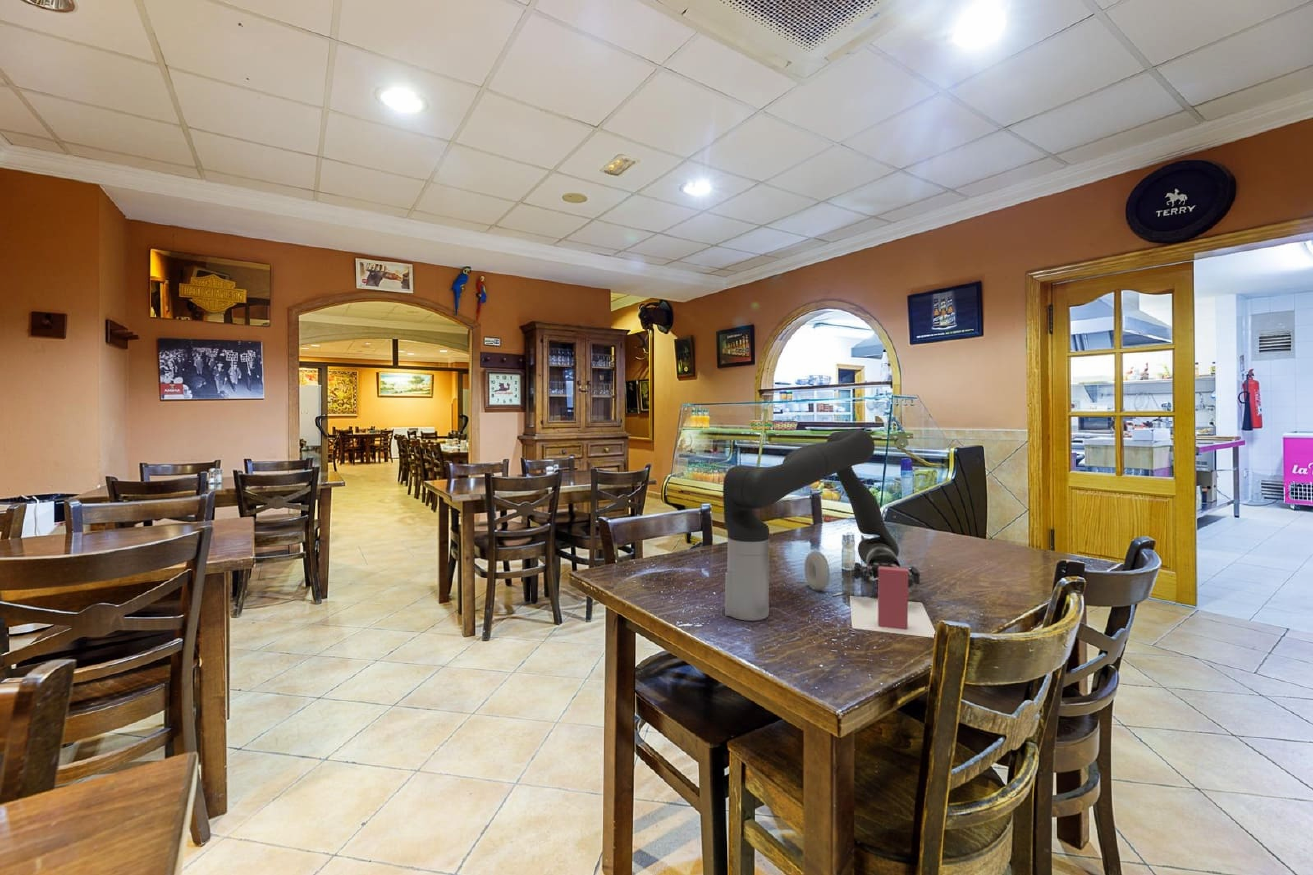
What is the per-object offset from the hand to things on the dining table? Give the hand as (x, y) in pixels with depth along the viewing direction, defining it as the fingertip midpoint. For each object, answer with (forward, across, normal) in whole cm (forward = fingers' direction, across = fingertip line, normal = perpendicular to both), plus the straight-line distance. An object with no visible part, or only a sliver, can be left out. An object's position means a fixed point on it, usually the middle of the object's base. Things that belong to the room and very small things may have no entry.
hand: (888, 581), depth 122 cm
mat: (+3, 0, +7) cm, 8 cm away
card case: (+10, 0, +7) cm, 12 cm away
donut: (-12, -16, +7) cm, 21 cm away
